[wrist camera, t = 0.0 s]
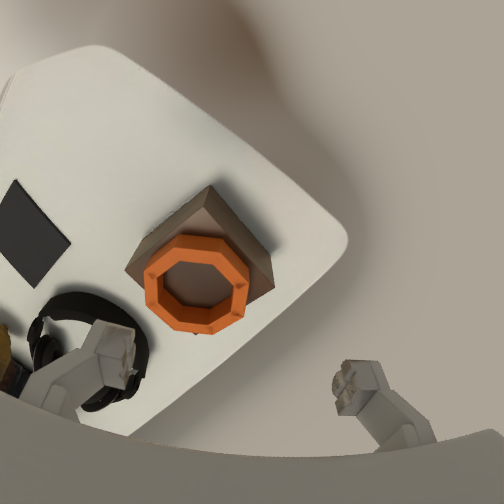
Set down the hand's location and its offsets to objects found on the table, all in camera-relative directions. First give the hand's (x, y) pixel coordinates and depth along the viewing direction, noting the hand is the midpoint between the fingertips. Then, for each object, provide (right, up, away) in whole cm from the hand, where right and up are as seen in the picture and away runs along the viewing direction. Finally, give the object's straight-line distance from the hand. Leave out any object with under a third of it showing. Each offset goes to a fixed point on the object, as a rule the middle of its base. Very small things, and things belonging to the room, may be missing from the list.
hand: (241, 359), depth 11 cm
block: (-5, +4, +22) cm, 23 cm away
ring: (-4, +1, +17) cm, 18 cm away
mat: (-29, +6, +21) cm, 36 cm away
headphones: (-23, -9, +29) cm, 38 cm away
